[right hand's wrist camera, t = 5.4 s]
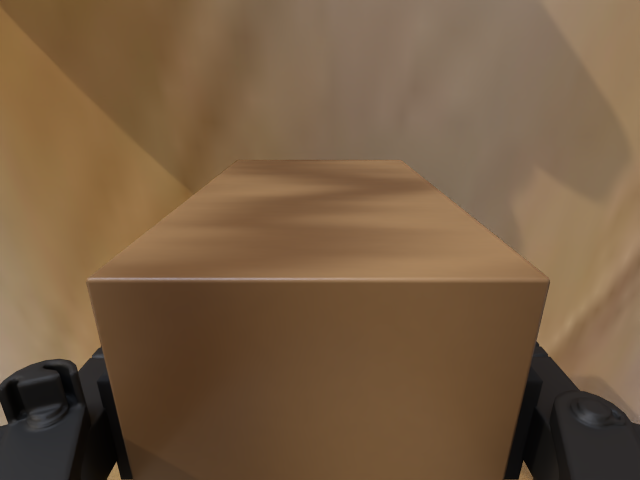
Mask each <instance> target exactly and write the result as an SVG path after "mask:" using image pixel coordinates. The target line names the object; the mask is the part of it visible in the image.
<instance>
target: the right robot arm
mask: <svg viewBox="0 0 640 480" xmlns="http://www.w3.org/2000/svg"><path fill="white" fill-rule="evenodd" d="M0 402H1V405H2V408H3V410H4V413H5V416H6V419H7V421H8V424H7V425H4V426H0V480H107V478H108V476H109V474H110V472H111V470H112V469H113V467H114V465H115V463H116V461H117V465H118V468H119V472H120V476H121V480H133V477H132V473H131V469H130V465H129V460H128V456H127V452H126V448H125V443H124V439H123V435H122V431H121V427H120V422H119V418H118V414H117V410H116V405H115V401H114V397H113V393H112V389H111V384H110V380H109V376H108V372H107V368H106V363H105V359H104V355H103V351H102V346H101V348H98V350H97V351H96V352H95V353H94V354H93V355H92V358H90V359H89V360H88V361H87V362H86V363H85V364H84V366H83V367H82V368H81V369H80V370H79V371H78V370H77V367H76V365H75V364H74V363H73V362H71V361H70V360H64V359H54V360H45V361H42V362H38V363H35V364H32V365H29V366H27V367H25V368H23V369H21V370H19V371H16V372H15V373H14V374H12V375H11V376H9V377H8V378H6V379H5V380H4V381H3V382H2V383H1V384H0ZM523 460H524V462H525V463H526V465H527V467H528V469H529V471H530V472H531V474H532V476H533V480H640V425H639V424H635V423H632V422H631V421H630V420H629V419H628V417H627V416H626V414H625V413H624V412H623V411H621V410H620V409H619V408H618V407H616V406H615V405H614V404H613V403H611V402H609V401H607V400H605V399H603V398H601V397H599V396H597V395H594V394H591V393H588V392H584V391H580V390H579V389H578V388H577V387H576V386H575V385H574V383H573V382H572V381H571V380H570V379H569V378H568V377H567V375H566V374H565V373H564V372H563V371H562V370H561V369H560V367H559V366H558V365H557V364H556V363H555V362H554V361H553V360H552V358H551V357H548V354H547V353H546V352H545V350H544V349H543V348H542V347H539V344H538V342H537V341H536V344H535V349H534V353H533V357H532V361H531V366H530V370H529V374H528V379H527V383H526V387H525V391H524V396H523V400H522V404H521V409H520V413H519V417H518V421H517V426H516V430H515V434H514V439H513V443H512V447H511V451H510V456H509V460H508V464H507V469H506V473H505V477H504V480H518V479H519V475H520V471H521V467H522V463H523Z"/></svg>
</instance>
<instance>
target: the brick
mask: <svg viewBox="0 0 640 480" xmlns="http://www.w3.org/2000/svg"><path fill="white" fill-rule="evenodd" d="M86 283H87V287H88V292H89V296H90V300H91V304H92V309H93V313H94V317H95V321H96V325H97V330H98V334H99V338H100V342H101V346H102V351H103V355H104V359H105V363H106V368H107V372H108V376H109V380H110V384H111V389H112V393H113V397H114V401H115V405H116V410H117V414H118V418H119V422H120V427H121V431H122V435H123V439H124V443H125V448H126V452H127V456H128V460H129V465H130V469H131V473H132V477H133V480H504V477H505V473H506V469H507V464H508V460H509V456H510V451H511V447H512V443H513V439H514V434H515V430H516V426H517V421H518V417H519V413H520V409H521V404H522V400H523V396H524V391H525V387H526V383H527V379H528V374H529V370H530V366H531V361H532V357H533V353H534V349H535V344H536V340H537V336H538V331H539V327H540V323H541V319H542V314H543V310H544V306H545V301H546V297H547V293H548V289H549V284H550V280H549V278H548V277H547V276H546V275H545V274H543V273H542V272H541V271H540V270H538V269H537V268H536V267H535V266H533V265H532V264H531V263H530V262H528V261H527V260H526V259H524V258H523V257H522V256H521V255H519V254H518V253H517V252H516V251H514V250H513V249H512V248H511V247H509V246H508V245H507V244H506V243H504V242H503V241H502V240H501V239H499V238H498V237H497V236H496V235H494V234H493V233H492V232H491V231H489V230H488V229H487V228H486V227H484V226H483V225H482V224H481V223H479V222H478V221H477V220H476V219H474V218H473V217H472V216H471V215H469V214H468V213H467V212H466V211H464V210H463V209H462V208H461V207H459V206H458V205H457V204H456V203H454V202H453V201H452V200H451V199H449V198H448V197H447V196H446V195H444V194H443V193H442V192H440V191H439V190H438V189H437V188H435V187H434V186H433V185H432V184H430V183H429V182H428V181H427V180H425V179H424V178H423V177H422V176H420V175H419V174H418V173H417V172H415V171H414V170H413V169H412V168H410V167H409V166H408V165H407V164H405V163H404V162H403V161H402V160H237V161H236V162H234V163H233V164H232V165H231V166H229V167H228V168H227V169H226V170H224V171H223V172H222V173H220V174H219V175H218V176H217V177H215V178H214V179H213V180H212V181H210V182H209V183H208V184H206V185H205V186H204V187H203V188H201V189H200V190H199V191H198V192H196V193H195V194H194V195H192V196H191V197H190V198H189V199H187V200H186V201H185V202H184V203H182V204H181V205H180V206H178V207H177V208H176V209H175V210H173V211H172V212H171V213H170V214H168V215H167V216H166V217H164V218H163V219H162V220H161V221H159V222H158V223H157V224H156V225H154V226H153V227H152V228H150V229H149V230H148V231H147V232H145V233H144V234H143V235H141V236H140V237H139V238H138V239H136V240H135V241H134V242H133V243H131V244H130V245H129V246H127V247H126V248H125V249H124V250H122V251H121V252H120V253H119V254H117V255H116V256H115V257H113V258H112V259H111V260H110V261H108V262H107V263H106V264H105V265H103V266H102V267H101V268H99V269H98V270H97V271H96V272H94V273H93V274H92V275H91V276H89V277H88V278H87V282H86Z"/></svg>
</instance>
